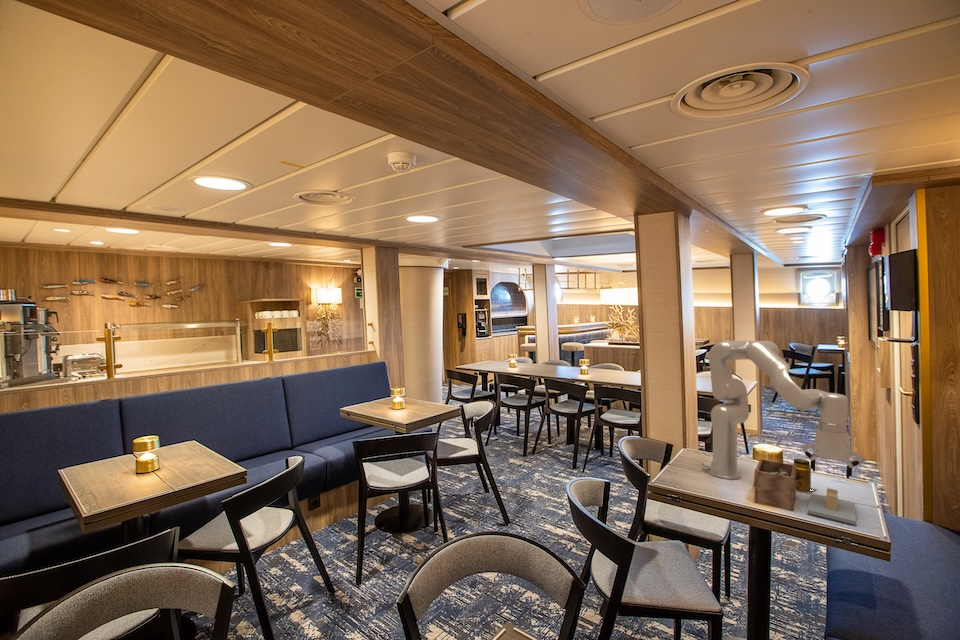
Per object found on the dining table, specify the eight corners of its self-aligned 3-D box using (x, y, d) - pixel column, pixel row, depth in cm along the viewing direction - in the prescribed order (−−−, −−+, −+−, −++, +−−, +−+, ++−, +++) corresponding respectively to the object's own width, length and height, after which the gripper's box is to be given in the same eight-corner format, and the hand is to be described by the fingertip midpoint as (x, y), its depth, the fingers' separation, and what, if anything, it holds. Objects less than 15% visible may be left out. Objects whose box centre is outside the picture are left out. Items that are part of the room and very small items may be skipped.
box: (754, 502, 164) (754, 470, 164) (759, 487, 178) (760, 458, 178) (793, 511, 156) (793, 478, 156) (795, 495, 170) (796, 465, 170)
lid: (807, 515, 153) (807, 495, 153) (810, 498, 168) (811, 480, 168) (855, 527, 145) (856, 506, 145) (855, 508, 159) (855, 489, 159)
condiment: (788, 488, 178) (788, 459, 178) (796, 484, 182) (797, 455, 182) (809, 494, 172) (809, 464, 171) (817, 490, 176) (817, 460, 176)
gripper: (802, 425, 159) (800, 471, 159) (865, 434, 148) (862, 483, 149) (803, 421, 165) (801, 465, 165) (863, 430, 154) (861, 477, 155)
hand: (830, 474), depth 157 cm, fingers open, 9 cm apart
